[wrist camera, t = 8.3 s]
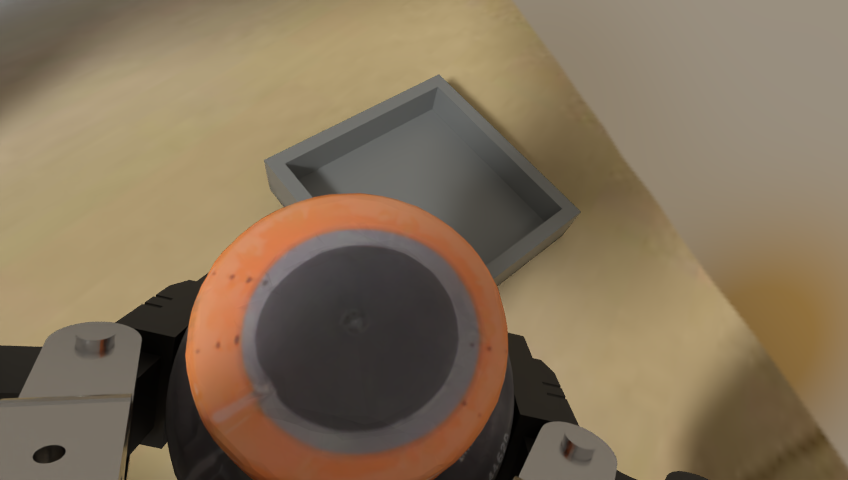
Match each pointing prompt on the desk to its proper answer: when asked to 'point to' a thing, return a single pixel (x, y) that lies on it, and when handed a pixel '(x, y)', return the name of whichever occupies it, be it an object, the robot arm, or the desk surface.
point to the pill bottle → (343, 352)
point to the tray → (433, 173)
